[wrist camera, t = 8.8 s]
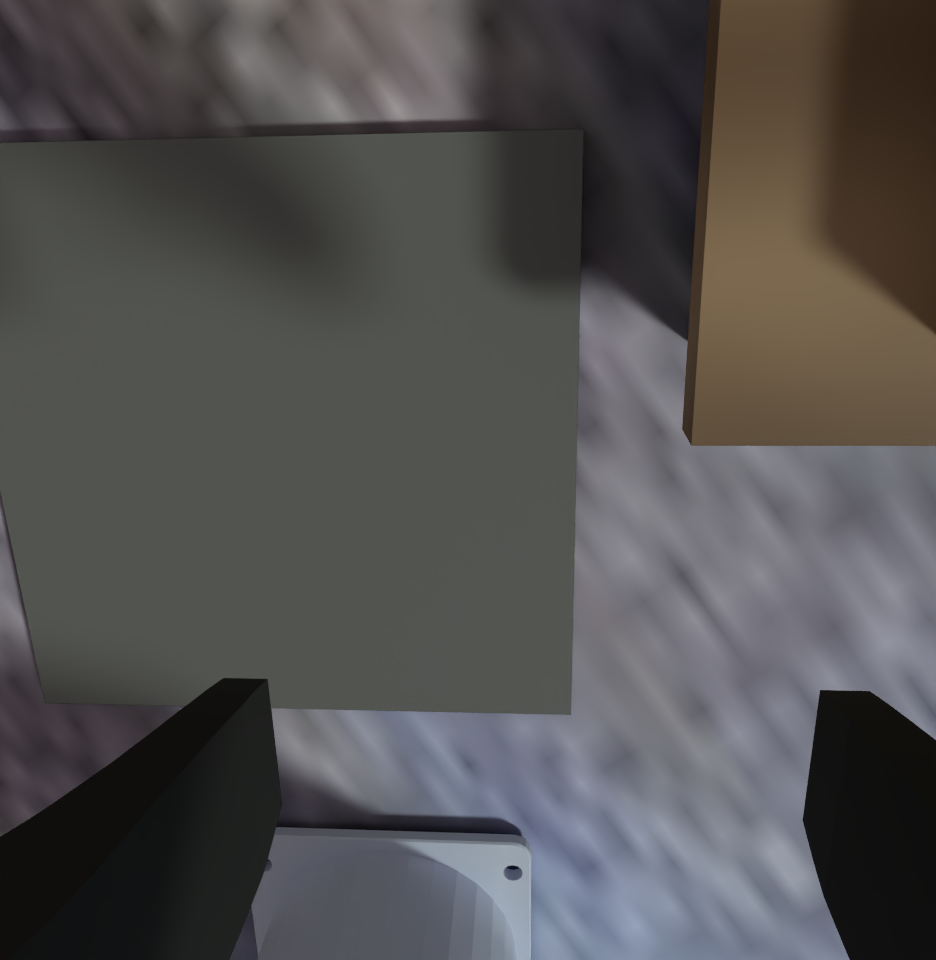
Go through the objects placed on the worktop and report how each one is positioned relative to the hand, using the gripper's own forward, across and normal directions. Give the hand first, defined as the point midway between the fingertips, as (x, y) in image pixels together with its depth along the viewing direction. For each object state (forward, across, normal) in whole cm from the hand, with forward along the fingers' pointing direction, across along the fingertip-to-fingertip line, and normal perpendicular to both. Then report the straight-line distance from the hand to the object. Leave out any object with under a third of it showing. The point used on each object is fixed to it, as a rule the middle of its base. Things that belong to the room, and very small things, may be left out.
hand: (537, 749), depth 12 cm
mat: (+10, +6, -1) cm, 12 cm away
